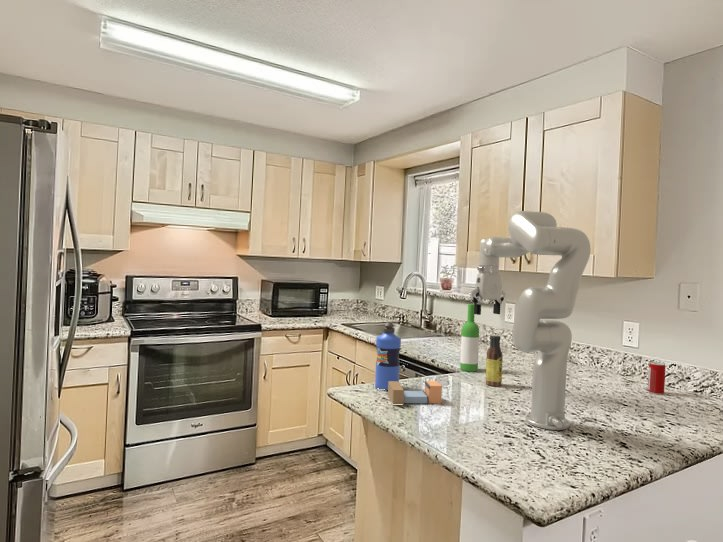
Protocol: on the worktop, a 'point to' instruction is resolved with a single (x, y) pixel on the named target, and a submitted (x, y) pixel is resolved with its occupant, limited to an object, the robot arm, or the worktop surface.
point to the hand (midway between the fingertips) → (487, 314)
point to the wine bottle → (469, 343)
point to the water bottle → (387, 357)
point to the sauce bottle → (494, 362)
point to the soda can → (656, 378)
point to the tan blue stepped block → (405, 394)
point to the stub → (433, 391)
